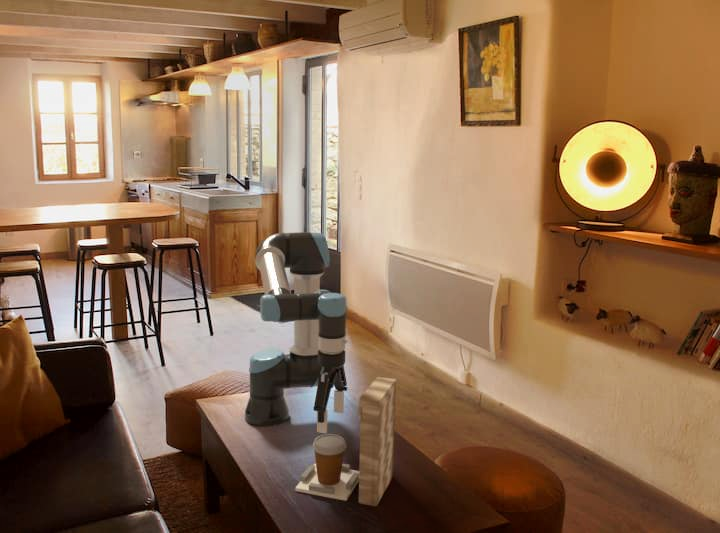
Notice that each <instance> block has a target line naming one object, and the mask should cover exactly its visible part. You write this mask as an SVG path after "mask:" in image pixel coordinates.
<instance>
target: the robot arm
mask: <svg viewBox="0 0 720 533" xmlns="http://www.w3.org/2000/svg"><path fill="white" fill-rule="evenodd" d="M329 251H330V250H329V246H328V241H327V238H326V236H325V234H323V233H321V232H315V231H313V232H312V231H307V232H306V231H305V232H304V231H300V232H278V233H274V234H271V235H269V236H268V237H266V238H264V240H262V241H261V242H260V243H259V245H258V246H257V247H256V250H255V254H254V263H255V267H256V269H258V270H259V272H260V276H261V281H262V282H261V283H262V286H263V293H264V294H263V295H261V297H260V301H259V302H260V304H259V305H260V306H259V307H260V312H259V313H260V317H261V320H262V321H263V322H274V323H277V322H291V321H292V322H294V323H293V324H294V325H293V326H294V328H293V329H294V330H293V332H294V334H293V335H294V336H293V338H294V339H293V340H294V342H293V343H294V344H293V345H292V346H290V348H289V353H287V354H285V353H284V351H283V350H281V349H275V348H272V349H264V350H261V351H259V352H256V353H254V354H253V355H252V356H251V357H250V359H249V368H248V372H249V399H248V402H247V403H246V404H247V405H246V407H245V410H244V420H245V421H246V422H247V423H249V424H250V425H254V426H259V427H268V426H269V427H270V426H271V427H272V426H277V425H280V424H283V423H285V422H287V420H288V419H289V417H290V414H289V412H290V411H289V410H290V409H289V407H288V403H287V401H286V398H285V396H284V395H285V394H284V393H285V392H284V389H298V388H301V389H302V388H313V387H314V388H315V387H316V394H315V400H314V404H313V411H315V412H316V433H322V434H327V433H328V409H327V406H328V403H329V399H330V395H331V391H332V389H333V388H335V390H334V391H333V394H334V395H333V413H336V414H344V407H345V406H344V404H345V403H344V401H345V400H344V399H345V392H347V390H348V386H347V385H348V382H347V377H346V371H345V367H344V365H345V364H346V344H348V340H347V339H346V337H347V336H346V335H347V334H346V333H347V332H346V331H347V310H348V306H347V297H346V295H344V294H343V293H342V294H341V293H338V292H331V291H330V290H327V289H321V288H320V286H321V285H320V284H321V277H322V276H323V275H324V274H325V268H328V267H330V258H331V257H330V252H329ZM288 268H289V274H291V276H293V277H294V279H293V280H294V293H292V291H291V286H290V282H289V281H288V280H289V279H288V276H287V272H286V269H288Z"/></svg>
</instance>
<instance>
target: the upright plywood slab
mask: <svg viewBox="0 0 720 533" xmlns="http://www.w3.org/2000/svg"><path fill="white" fill-rule="evenodd" d="M396 388H397V379H396V378H390V377H381V376H377V377H376V378H375V379H374V380H373V381H372V383H371V384H370V385H369V386H368V387H367V389H366V390H365V391H364V392H363V393H362V394H361V396H360V397H359V398H358V421H360V422H359V424H360V425H359V426H360V427H359V430H360V431H359V465H358V471H359V482H358V503H359V504H362V505H367V506H372V507H377V506H378V504H379V503H380V500H381V499H382V497H383V496H384V493H385V492H386V490H387V488H388V486H389V485H390V482H391V481H392V478H393V476H394V448H395V443H394V442H395V425H396V424H395V423H396V422H395V420H396V419H395V418H396V415H395V414H396V394H397V393H396V392H397V391H396V390H397V389H396Z"/></svg>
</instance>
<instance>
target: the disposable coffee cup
mask: <svg viewBox="0 0 720 533" xmlns="http://www.w3.org/2000/svg"><path fill="white" fill-rule="evenodd" d="M312 448H313V450H314V451H313V452H314V459H315V463H316V468H317V476H318V481H319V483H321V484H323V485H335V484H337V483H338V482H339V481H340V476H341V470H342V463H343V464H344V455H345V451H346V448H347V443H346V440H345V438H344V437H343V436H340V435H338V434H334V433H332V434H331V433H328V434H327V433H324V434H321V435H318V436H316V437H315V439H314V441H313V443H312Z"/></svg>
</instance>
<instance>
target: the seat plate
mask: <svg viewBox="0 0 720 533" xmlns="http://www.w3.org/2000/svg"><path fill="white" fill-rule="evenodd" d="M358 484H359V470H355V469H351V464H347V463H344V462H343V463H342V470H341V476H340V481H339V482H338V483H337V484H335V485H323V484H321V483H319V481H318V476H317V468H316V462H315V463H314V464H309V466H308V467H307V468H306V470H304V472H303V473H302V474H301V475H300V481H299V483H298V484H297V485H296V486H295V487H294V488H295V490H294V491H295V492H298V493H305V494H310V495H314V496H320V497H325V498H329V499H336V500H341V501H347V500H349V499H348V498H349V497H350V496H351V494H352V493H353V491H354V489H355V488H356V487H357V485H358Z"/></svg>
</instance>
